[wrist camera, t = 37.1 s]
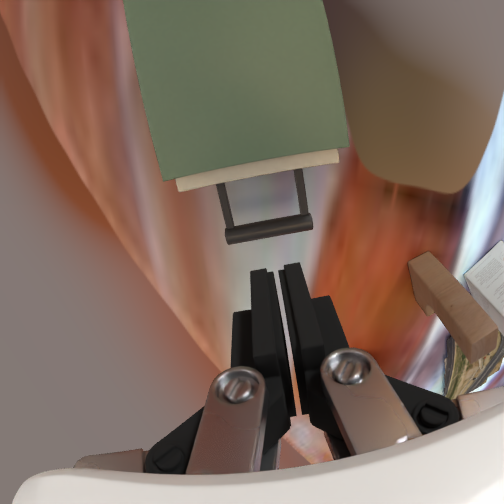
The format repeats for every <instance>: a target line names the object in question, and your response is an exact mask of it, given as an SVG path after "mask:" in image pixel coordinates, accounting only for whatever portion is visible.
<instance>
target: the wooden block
mask: <svg viewBox="0 0 504 504" xmlns="http://www.w3.org/2000/svg"><path fill="white" fill-rule="evenodd" d="M408 267H409V272H410V276H411V280H412V285H413V290H414V294H415V299H416V301H417V303H418V304H419V306H420V307H421V308H422V310H423V311H424V313H425V314H426V316H430V315H432V314H433V313H436V314H437V316H438V317H439V319H440V320H441V321H442V323H443V324H444V326H445V327H446V329H447V330H448V331H449V333H450V334H451V336H452V337H453V339H454V340H455V342H456V343H457V345H458V346H459V347H460V349H461V350H462V352H463V354H464V355H465V357H466V358H467V360H468V361H469V363H470V364H472V363H474V362H476V361H477V360H479V359H480V358H482V357H484V356H485V355H487V354H488V353H490V352H491V351H493V350H494V349H495V348H496V346H497V337H498V326H497V325H496V323H495V322H494V321H493V320H492V319H491V318H490V316H489V315H488V314H487V313H486V312H485V311H484V309H483V308H482V307H481V306H480V305H479V304H478V303H477V301H476V300H475V299H474V298H473V297H472V296H471V295H470V294H469V293H468V291H467V290H466V289H465V288H464V287H463V286H462V285H461V284H460V283H459V282H458V281H457V280H456V278H455V277H454V276H453V275H452V274H451V273H450V272H449V271H448V270H447V269H446V268H445V267H444V266H443V265H442V264H441V263H440V262H439V261H438V260H437V259H436V258H435V257H434V256H433V255H432V254H431V253H430V252H429V251H428V252H426V253H424V254H422V255H420V256H418V257H416V258H414V259H412V260H410V261H408Z"/></svg>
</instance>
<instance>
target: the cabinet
mask: <svg viewBox="0 0 504 504" xmlns="http://www.w3.org/2000/svg"><path fill="white" fill-rule="evenodd" d="M123 3H124V9H125V15H126V21H127V26H128V32H129V37H130V42H131V47H132V53H133V58H134V62H135V67H136V72H137V77H138V81H139V86H140V90H141V95H142V99H143V104H144V108H145V112H146V116H147V120H148V125H149V129H150V133H151V137H152V141H153V145H154V148H155V152H156V156H157V160H158V164H159V167H160V171H161V175H162V178H163V181H168V180H172V179H176V178H180V177H184V176H189V175H193V174H197V173H202V172H206V171H211V170H216V169H220V168H225V167H230V166H235V165H240V164H245V163H250V162H256V161H261V160H266V159H272V158H278V157H284V156H290V155H296V154H302V153H309V152H315V151H322V150H330V149H337V148H345V147H349V138H348V130H347V123H346V116H345V109H344V103H343V97H342V91H341V85H340V79H339V73H338V68H337V63H336V58H335V53H334V48H333V43H332V39H331V35H330V30H329V26H328V21H327V17H326V13H325V9H324V5H323V1H322V0H123Z"/></svg>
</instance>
